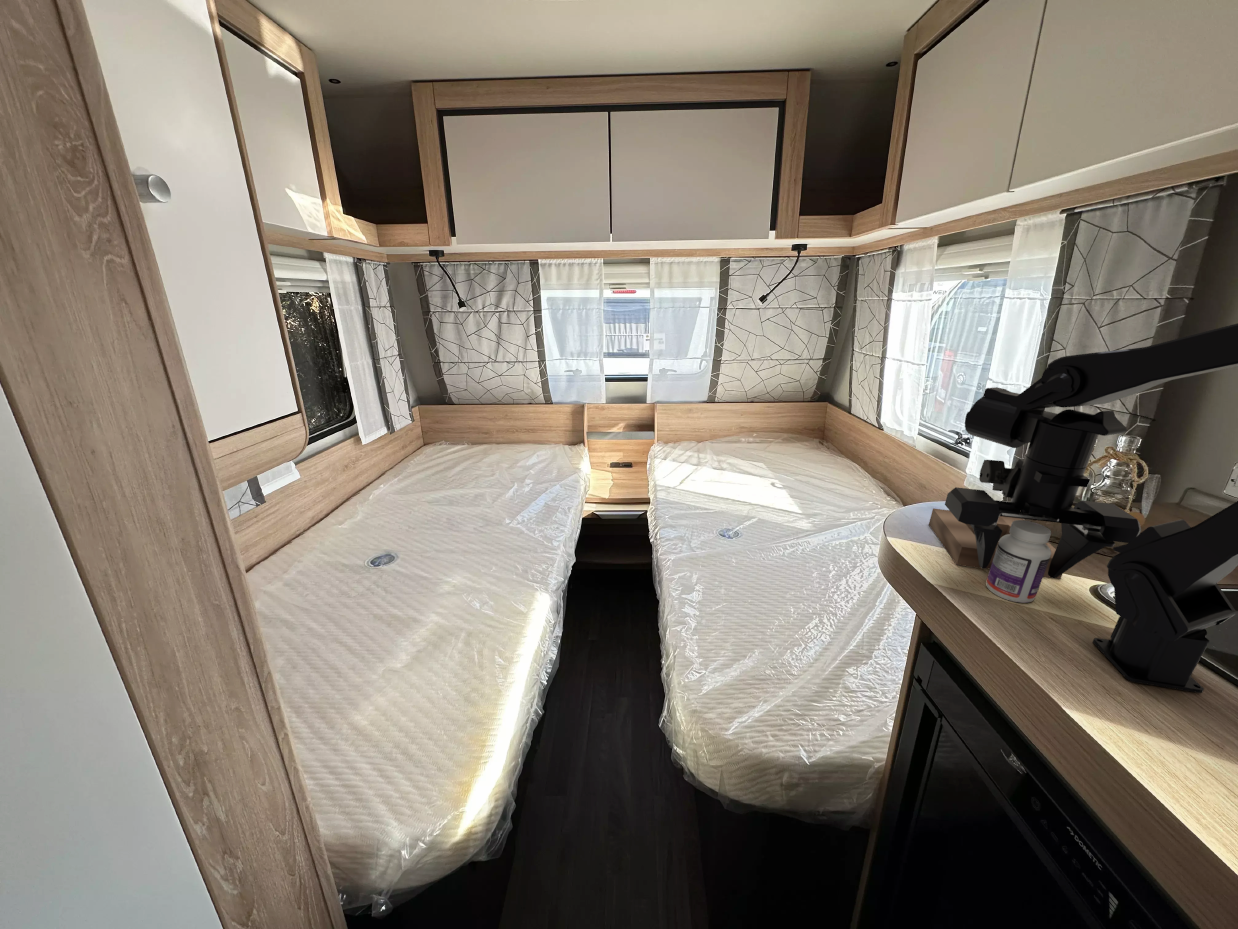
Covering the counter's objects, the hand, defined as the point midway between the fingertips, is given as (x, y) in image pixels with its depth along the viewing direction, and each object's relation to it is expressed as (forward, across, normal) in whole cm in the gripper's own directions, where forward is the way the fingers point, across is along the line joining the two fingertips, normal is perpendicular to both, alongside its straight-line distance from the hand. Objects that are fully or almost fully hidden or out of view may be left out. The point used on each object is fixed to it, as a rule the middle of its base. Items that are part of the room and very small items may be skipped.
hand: (1016, 572), depth 66 cm
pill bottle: (+3, 0, 0) cm, 3 cm away
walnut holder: (+3, -2, -12) cm, 13 cm away
